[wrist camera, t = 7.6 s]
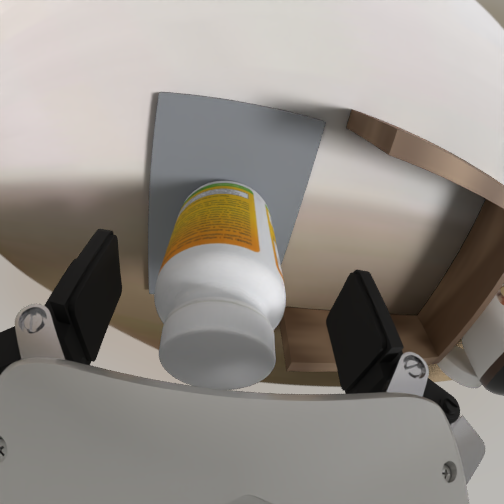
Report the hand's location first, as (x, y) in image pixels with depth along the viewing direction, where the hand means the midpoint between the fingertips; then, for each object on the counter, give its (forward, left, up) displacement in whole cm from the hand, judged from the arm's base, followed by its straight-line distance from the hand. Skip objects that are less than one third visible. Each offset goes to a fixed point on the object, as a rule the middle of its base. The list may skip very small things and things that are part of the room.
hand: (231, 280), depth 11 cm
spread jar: (-27, +6, -5) cm, 28 cm away
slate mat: (+1, 0, -5) cm, 5 cm away
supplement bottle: (0, 0, -5) cm, 5 cm away
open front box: (-10, 0, -5) cm, 12 cm away
